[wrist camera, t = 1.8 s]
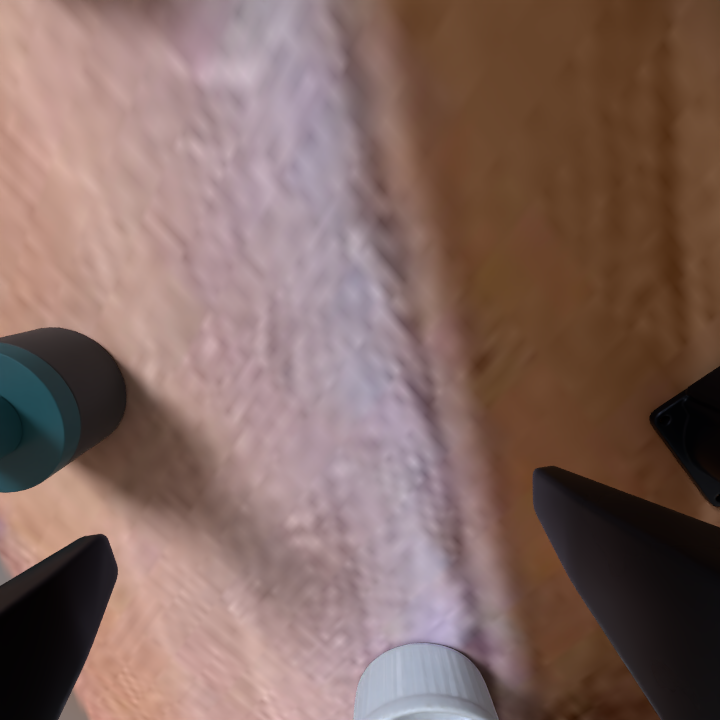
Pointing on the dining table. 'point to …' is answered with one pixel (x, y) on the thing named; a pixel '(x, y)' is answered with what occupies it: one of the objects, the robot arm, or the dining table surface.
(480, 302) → the dining table surface
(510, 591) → the dining table surface
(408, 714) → the ramekin
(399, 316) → the dining table surface
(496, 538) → the dining table surface
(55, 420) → the teal peg stand
